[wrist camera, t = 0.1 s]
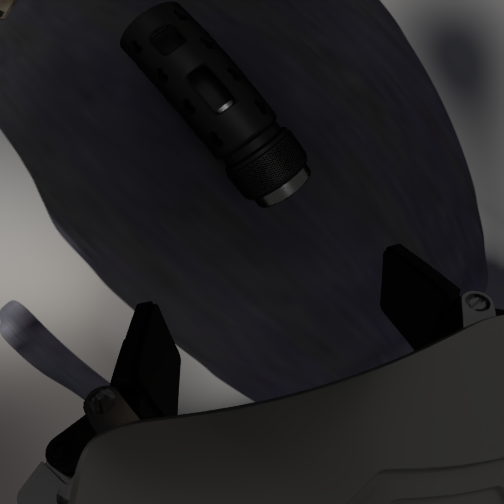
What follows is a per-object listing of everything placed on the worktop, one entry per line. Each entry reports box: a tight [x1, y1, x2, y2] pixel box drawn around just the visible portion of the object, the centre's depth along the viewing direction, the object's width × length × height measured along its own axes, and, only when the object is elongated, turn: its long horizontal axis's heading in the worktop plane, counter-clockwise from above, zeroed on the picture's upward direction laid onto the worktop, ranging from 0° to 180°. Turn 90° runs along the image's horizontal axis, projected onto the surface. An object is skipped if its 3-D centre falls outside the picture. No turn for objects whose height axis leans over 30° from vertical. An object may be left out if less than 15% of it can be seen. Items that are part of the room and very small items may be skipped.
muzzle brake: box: [120, 2, 311, 208], centre depth 30 cm, size 10×28×10 cm, turn 37°
